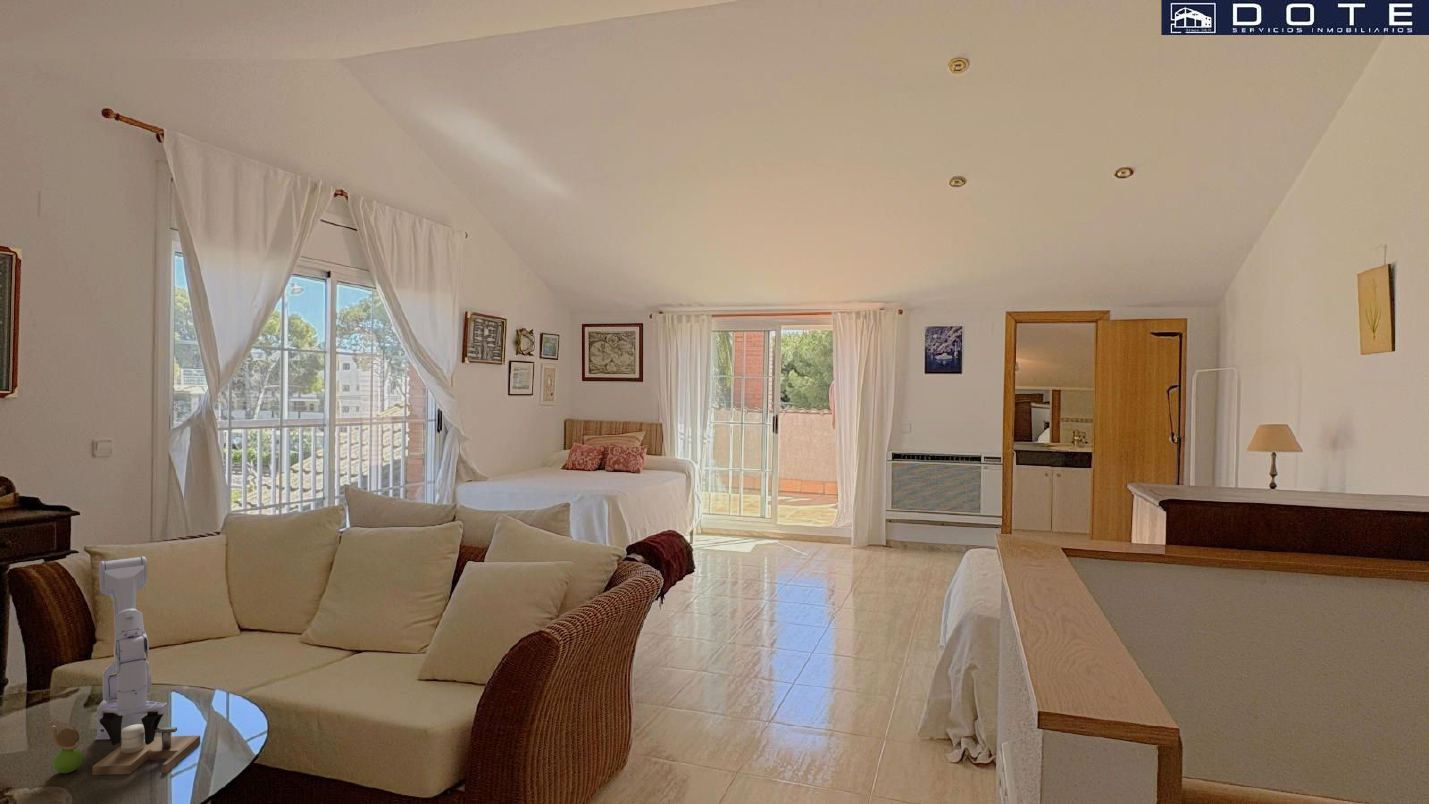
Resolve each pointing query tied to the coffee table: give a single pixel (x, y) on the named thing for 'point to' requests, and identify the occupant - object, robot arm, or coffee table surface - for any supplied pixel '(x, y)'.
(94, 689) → the coffee table surface
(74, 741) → the snail figurine
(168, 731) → the hook post
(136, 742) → the ribbed cream cylinder
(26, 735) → the coffee table surface
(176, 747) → the shelf board
